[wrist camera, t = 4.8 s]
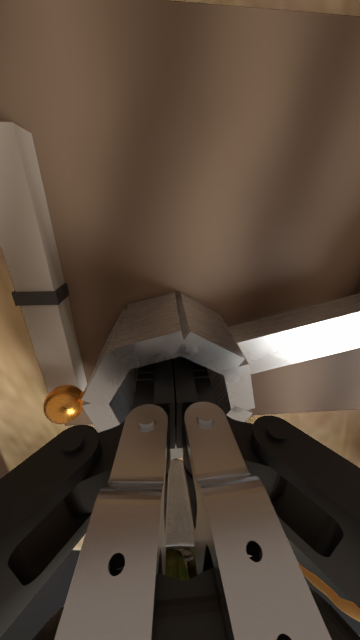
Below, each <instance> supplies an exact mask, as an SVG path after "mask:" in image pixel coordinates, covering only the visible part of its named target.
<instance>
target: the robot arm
mask: <svg viewBox="0 0 360 640" xmlns="http://www.w3.org/2000/svg"><path fill="white" fill-rule="evenodd" d="M175 431H176V447H177V448H182V450H183V472H184V479H185V485H186V492H187V498H188V505H189V511H190V518H191V524H192V531H193V539H194V552H195V562H196V570H197V576H195V577H194V578H192V579H189V580H180V579H177V578H174V577H170V576H167V575H165V558H166V524H167V503H168V482H169V469H170V464H171V452H170V449H175ZM85 533H86V535H85ZM84 535H85V538H84V541H83V545H82V548H81V552H80V555H79V558H78V562H77V565H76V568H75V572H74V575H73V578H72V582H71V585H70V589H69V592H68V595H67V599H66V602H65V605H64V607H62V608H61V609H60V610H59V611H58V612H57V613H56V614H55V615H54V616H53V617H52V618H51V619H50V620H49V621H48V622H47V623H46V624H45V625H44V626H43V628H42V629H41V630H40V631H39V632H38V634H37V635H36V636H35V637H34V638H33V639H32V640H360V637H359V636H358V635H357V634H356V632H355V631H353V629H352V628H351V627H350V626H349V625H348V624H347V623H346V622H345V620H344V619H343V618H342V617H341V616H340V615H339V614H338V613H337V612H336V611H335V610H334V609H333V608H332V606H331V605H330V604H328V603H327V602H326V601H325V600H324V599H323V598H322V597H321V596H320V595H319V594H317V593H316V592H315V591H314V590H312V589H311V588H310V587H308V585H307V582H306V580H305V578H304V576H303V573H302V571H301V569H300V567H299V564H298V562H297V560H296V557H295V555H294V553H293V551H292V548H291V546H290V544H289V542H288V539H287V538H289V539H290V540H291V541H292V542H293V543H294V544H295V545H296V546H297V547H298V548H299V549H300V550H301V551H302V552H303V553H304V554H305V555H306V556H307V557H308V558H309V559H310V560H311V561H312V562H313V563H314V564H315V565H316V566H317V567H318V568H319V569H320V570H321V571H322V572H323V573H324V574H325V575H326V576H327V577H328V578H329V579H330V580H331V581H332V582H333V583H334V584H335V585H336V586H337V587H338V588H339V589H340V590H342V592H343V593H345V594H346V595H347V596H348V597H349V598H350V599H351V600H352V601H353V602H354V603H355V604H356V605H357V606H358V607H359V608H360V468H359V467H357V466H356V465H354V464H353V463H351V462H349V461H348V460H346V459H345V458H343V457H342V456H340V455H338V454H337V453H335V452H334V451H332V450H331V449H329V448H327V447H326V446H324V445H323V444H321V443H320V442H318V441H316V440H315V439H313V438H312V437H310V436H309V435H307V434H305V433H304V432H302V431H301V430H299V429H298V428H296V427H294V426H293V425H291V424H290V423H288V422H287V421H285V420H283V419H281V418H278V417H275V416H263V417H260V418H258V419H257V420H256V421H255V422H254V424H250V423H246V422H241V421H237V420H234V419H232V418H230V417H228V416H227V415H225V413H224V412H223V410H222V409H221V408H220V407H218V404H217V401H216V398H215V394H214V391H213V387H212V384H211V380H210V378H209V373H208V371H207V368H206V367H204V366H202V365H200V364H197V363H195V362H193V361H191V360H188V359H186V358H184V357H182V356H180V357H176V358H172V359H168V360H165V361H161V362H157V363H153V364H149V365H145V366H141V367H139V369H138V376H137V382H136V389H135V395H134V402H133V408H132V411H131V412H130V413H129V414H128V415H127V417H126V419H125V421H124V422H122V423H121V424H119V425H118V426H116V427H113V428H111V429H108V430H105V431H102V432H99V433H97V431H96V430H95V429H94V428H93V427H91V426H88V425H77V426H73V427H70V428H68V429H66V430H64V431H63V432H61V433H60V434H59V435H57V436H56V437H55V438H53V439H52V440H51V441H50V442H48V443H47V444H46V445H44V446H43V447H42V448H40V449H39V450H38V451H36V452H35V453H34V454H33V455H31V456H30V457H29V458H27V459H26V460H25V461H23V462H22V463H21V464H19V465H18V466H17V467H16V468H14V469H13V470H12V471H10V472H9V473H8V474H6V475H5V476H4V477H3V478H1V479H0V637H1V636H2V635H3V633H4V632H5V631H6V630H7V629H8V627H9V626H10V625H11V624H12V623H13V621H14V620H15V619H16V618H17V616H18V615H19V614H20V613H21V611H22V610H23V609H24V608H25V607H26V605H27V604H28V603H29V602H30V600H31V599H32V598H33V597H34V596H35V594H36V593H37V592H38V591H39V590H40V588H41V587H42V586H43V585H44V583H45V582H46V581H47V580H48V578H49V577H50V576H51V575H52V574H53V572H54V571H55V570H56V569H57V568H58V566H59V565H60V564H61V563H62V561H63V560H64V559H65V558H66V557H67V555H68V554H69V553H70V552H71V550H72V549H73V548H74V547H75V546H76V544H77V543H78V542H79V541H80V540H81V538H82V537H83V536H84Z"/></svg>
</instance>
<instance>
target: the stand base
mask: <svg viewBox="0 0 360 640" xmlns="http://www.w3.org/2000/svg"><path fill="white" fill-rule="evenodd" d="M0 246H1V249H2V253H3V256H4V259H5V262H6V265H7V268H8V271H9V274H10V277H11V280H12V283H13V286H14V289H15V291H13V292H12V296H13V299H14V302H15V305H16V306H20V308H21V311H22V314H23V317H24V320H25V323H26V326H27V329H28V332H29V335H30V338H31V341H32V344H33V347H34V350H35V353H36V356H37V360H38V363H39V366H40V369H41V372H42V375H43V378H44V381H45V384H46V387H47V390H48V393H50V392H51V391H52V390H53V389H54V388H56V387H58V386H61V385H66V384H70V385H74V386H77V387H78V388H80V389H81V390H82V392H83V391H85V390H86V387H87V385H88V383H89V380H90V378H91V375H92V373H93V371H94V368H95V366H96V363H97V361H98V359H99V356H100V354H101V351H102V349H103V347H104V344H105V342H106V340H107V338H108V336H109V335H110V333H111V331H112V329H113V327H114V325H115V323H116V321H117V319H118V317H119V316H120V314H121V312H122V310H123V308H125V309H127V306H128V304H131V303H135V302H138V301H142V300H146V299H150V298H153V297H157V296H161V295H165V294H168V293H172V292H175V295H176V299H177V298H178V296H179V294H180V293H182V294H184V295H186V296H188V297H190V298H192V299H194V300H195V301H197V302H199V303H201V304H203V305H205V306H206V307H208V308H210V309H212V310H214V311H216V312H217V313H219V314H220V315H221V317H222V318H223V319H224V321H225V323H226V325H227V326H228V327H231V326H235V325H239V324H243V323H246V322H250V321H254V320H258V319H262V318H266V317H270V316H274V315H277V314H281V313H285V312H289V311H293V310H297V309H301V308H305V307H308V306H312V305H316V304H320V303H324V302H328V301H332V300H336V299H339V298H343V297H347V296H351V295H355V294H357V292H358V289H359V286H360V16H348V15H336V14H324V13H312V12H300V11H288V10H276V9H264V8H252V7H241V6H229V5H217V4H205V3H193V2H181V1H169V0H0ZM133 369H134V372H135V374H137V375H138V369H139V367H137V368H133ZM250 375H251V382H252V389H253V396H254V403H255V408H253V409H251V410H252V412H253V414H252V415H264V414H282V413H300V412H318V411H336V410H354V409H360V347H359V348H355V349H351V350H347V351H343V352H339V353H335V354H331V355H327V356H323V357H319V358H315V359H311V360H307V361H303V362H299V363H295V364H291V365H287V366H283V367H279V368H274V369H270V370H266V371H262V372H258V373H254V374H250ZM86 424H93V423H92V421H91V420H90V418H89V417H88V415H87V414H86V412H85V410H84V409H83V411H82V413H81V414H80V415H79V416H78V417H77V418H76V419H75V420H73V421H72V422H69V423H66V424H65V426H68V425H86Z"/></svg>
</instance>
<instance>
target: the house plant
mask: <svg viewBox="0 0 360 640" xmlns="http://www.w3.org/2000/svg"><path fill="white" fill-rule="evenodd" d="M165 575H167V576H170V577H174V578H177V579H180V580H189V579H192V578H194V577H195V576H197V570H196V562H195V552H194V539H193V531H192V524H191V518H190V511H189V505H188V498H187V492H186V485H185V479H184V472H183V461H181V460H175V459H173V460H171V464H170V469H169V482H168V503H167V524H166V558H165Z"/></svg>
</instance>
